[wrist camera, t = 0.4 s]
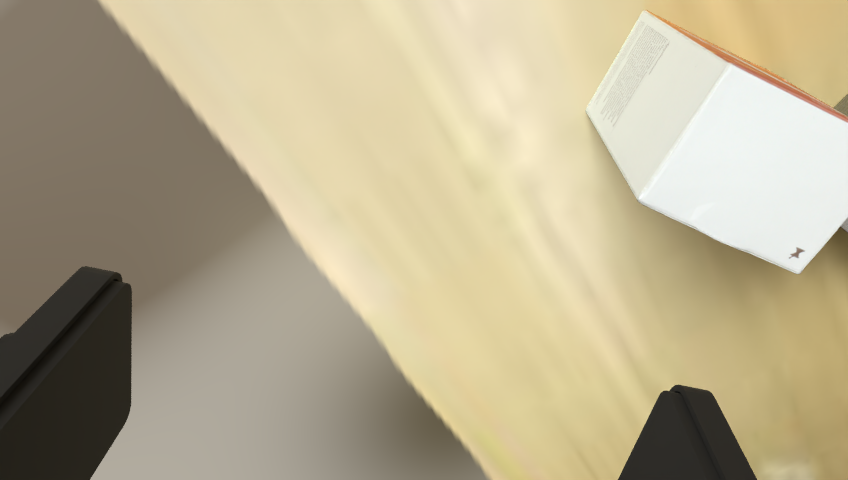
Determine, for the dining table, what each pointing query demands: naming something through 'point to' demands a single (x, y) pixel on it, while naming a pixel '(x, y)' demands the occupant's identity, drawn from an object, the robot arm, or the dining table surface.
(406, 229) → the dining table surface
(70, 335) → the robot arm
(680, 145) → the small box
